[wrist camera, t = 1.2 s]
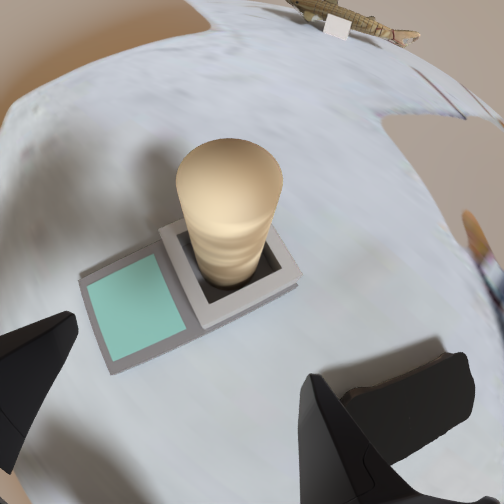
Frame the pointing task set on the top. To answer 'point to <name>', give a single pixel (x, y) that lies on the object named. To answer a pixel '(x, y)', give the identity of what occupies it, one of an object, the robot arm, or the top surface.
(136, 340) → the jig board
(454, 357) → the black sponge
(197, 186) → the maple post
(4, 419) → the robot arm
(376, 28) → the wood carving
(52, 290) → the top surface
